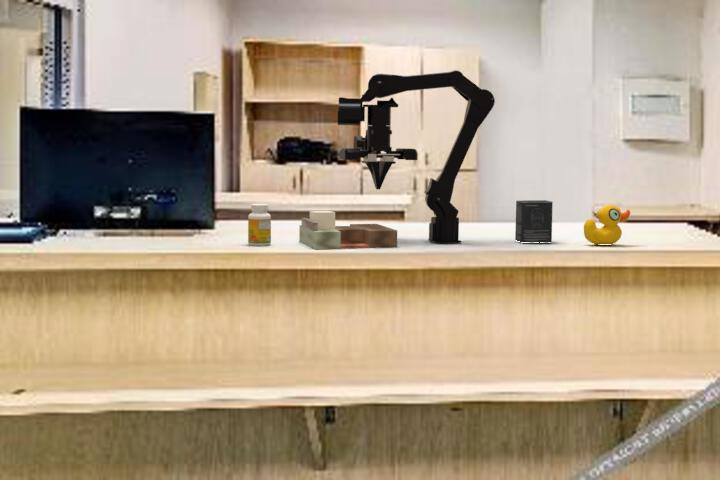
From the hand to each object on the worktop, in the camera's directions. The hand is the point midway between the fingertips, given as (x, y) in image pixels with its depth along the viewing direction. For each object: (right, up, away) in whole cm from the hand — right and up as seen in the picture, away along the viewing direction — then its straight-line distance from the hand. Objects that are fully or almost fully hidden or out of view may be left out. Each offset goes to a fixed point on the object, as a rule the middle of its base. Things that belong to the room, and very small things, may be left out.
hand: (378, 189), depth 232 cm
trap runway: (-8, -14, -5) cm, 16 cm away
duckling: (+56, -14, -1) cm, 58 cm away
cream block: (-14, -10, -7) cm, 18 cm away
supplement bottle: (-28, -14, -8) cm, 33 cm away
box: (+39, -14, +3) cm, 41 cm away
